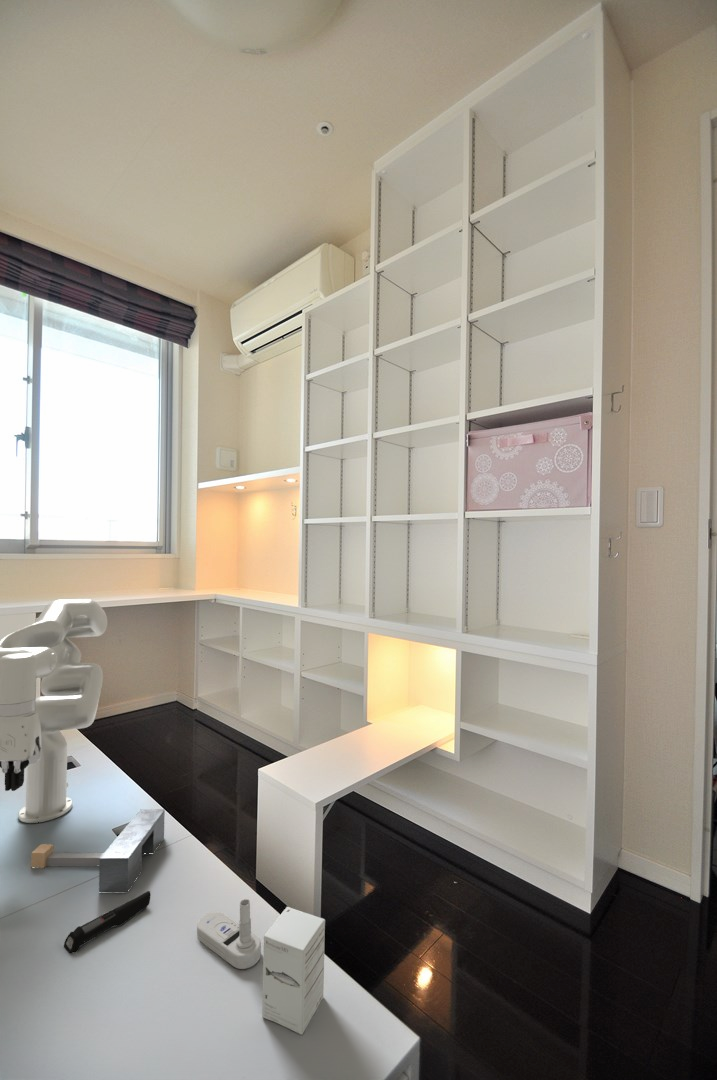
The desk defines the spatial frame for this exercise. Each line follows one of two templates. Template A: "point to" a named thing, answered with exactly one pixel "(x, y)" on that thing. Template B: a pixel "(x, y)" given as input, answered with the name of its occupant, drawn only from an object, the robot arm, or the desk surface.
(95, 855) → the lever
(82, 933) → the electric trimmer
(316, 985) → the supplement box
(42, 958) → the desk surface
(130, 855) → the block
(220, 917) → the electronic device
